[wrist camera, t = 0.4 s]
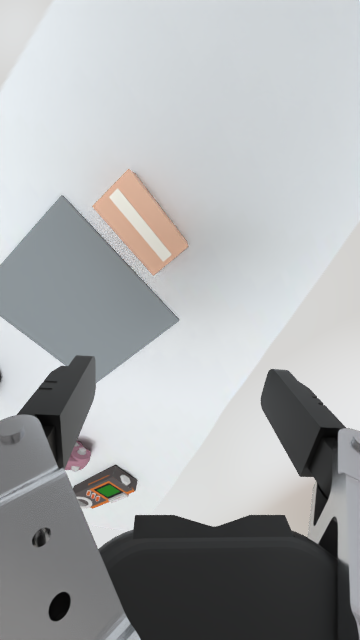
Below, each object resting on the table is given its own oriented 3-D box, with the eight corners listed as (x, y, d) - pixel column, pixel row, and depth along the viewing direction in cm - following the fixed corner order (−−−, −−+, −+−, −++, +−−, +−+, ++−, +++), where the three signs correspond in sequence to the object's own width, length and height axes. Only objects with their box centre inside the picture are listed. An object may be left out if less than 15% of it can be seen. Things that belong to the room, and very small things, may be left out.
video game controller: (97, 437, 46) (91, 459, 39) (88, 460, 46) (81, 486, 39) (45, 423, 44) (30, 444, 37) (36, 447, 44) (18, 472, 37)
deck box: (135, 173, 25) (128, 168, 22) (186, 241, 29) (188, 246, 25) (103, 205, 27) (91, 206, 23) (155, 266, 30) (153, 276, 26)
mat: (62, 195, 26) (61, 195, 26) (179, 319, 33) (179, 320, 33) (-25, 294, 31) (-27, 295, 30) (93, 383, 38) (92, 385, 38)
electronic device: (62, 501, 49) (113, 478, 45) (68, 485, 52) (117, 462, 47) (86, 514, 52) (136, 493, 47) (90, 499, 54) (139, 478, 50)
